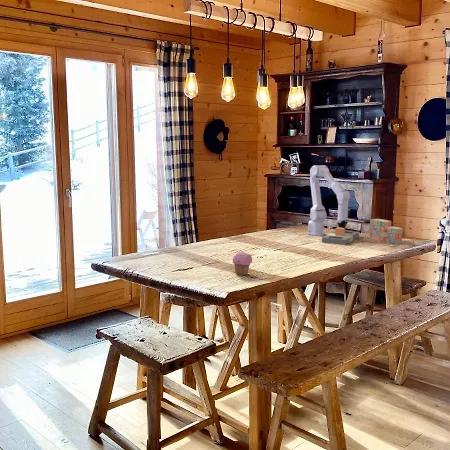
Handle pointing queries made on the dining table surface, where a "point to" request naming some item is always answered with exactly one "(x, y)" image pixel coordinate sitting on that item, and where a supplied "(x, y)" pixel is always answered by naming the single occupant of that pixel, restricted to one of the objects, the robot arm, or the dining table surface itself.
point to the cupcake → (242, 263)
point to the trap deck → (340, 238)
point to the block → (340, 231)
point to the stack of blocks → (385, 231)
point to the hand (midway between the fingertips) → (341, 233)
